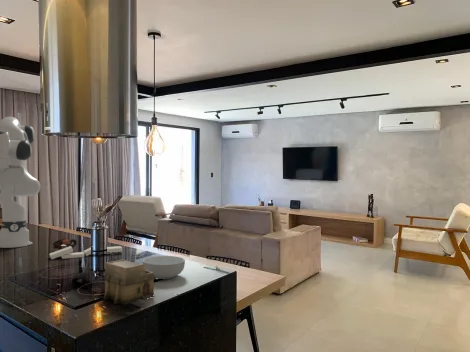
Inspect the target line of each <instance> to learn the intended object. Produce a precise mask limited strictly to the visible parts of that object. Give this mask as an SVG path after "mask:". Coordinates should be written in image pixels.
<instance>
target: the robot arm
mask: <svg viewBox="0 0 470 352" xmlns="http://www.w3.org/2000/svg"><path fill="white" fill-rule="evenodd" d="M35 139H36V132H35V130H34V127H32V126H31V125H27V124H26V125H21V123H20V121H19V119H17V118H16V117H14V116H5V117H3V118H2V119H1V120H0V206H1V212H2V221H1V223H0V227H1V229H0V248H4V249H6V248H9V249H10V248H12V249H13V248H20V247H26V246H30V245H33V242H32V241H30V230H29V229H28V228H27V220H26V207H25V205H24V204H22V203H20V202H18V201H15V200H14V197H32V196H37V195H38V194H39V192H40V191H41V189H42V188H41V186H42V185H41V182H40V181H39V180H38V179H37V178H35V177H33V175H31V173H29V171H28V165H27V163H28V162H27V160H28V159H30V158H31V156H32V152H33V150H32V145H31V144H32V143H34V141H35Z"/></svg>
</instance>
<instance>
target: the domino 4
mask: <svg viewBox="0 0 470 352" xmlns="http://www.w3.org/2000/svg"><path fill="white" fill-rule="evenodd" d="M106 247H107V252H110V253H112V252H119V253H122V252H123V247H122V246H121V245H118V246H117V245H115V246H106Z"/></svg>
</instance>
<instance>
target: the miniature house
mask: <svg viewBox="0 0 470 352" xmlns="http://www.w3.org/2000/svg"><path fill="white" fill-rule="evenodd" d="M104 275H105V276H104V277H103V278H102V279H103V280H104V281H105V282H104V296H103V300H109V298H110V300H111V301H113V304H114V305H116V304H119V303H120V304H122V305H128V304H131V303H134V302H138V301H140V300H139V299H141V300H143V299H144V300H143V301H148V300H147V298H150V297H155V295H154V291H155V290H154V288H155V287H154V283H155V279H154V278H156V277H155V276H154V272H151V271H147V270H145V264H143V263H139V262H138V263H137V262H133V261H129V260H126V259H125V258H124V259H118V260H113V261H107V262H105V274H104ZM153 295H154V296H153ZM137 300H138V301H137Z"/></svg>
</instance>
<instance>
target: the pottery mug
mask: <svg viewBox="0 0 470 352" xmlns="http://www.w3.org/2000/svg"><path fill="white" fill-rule="evenodd" d="M72 243H73V244H72ZM77 244H78V241H77V239H75V238H72V239H67V237H63V238H60V239H58V240H56V241H54V242H53V243H52V249H56V250H57V251H58V250H61V249H63V247H62V246H63V245H65V246H66V248H67V247H69V246H71V247H72V249H73V250H74V248H75V247H76V246H77Z"/></svg>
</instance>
